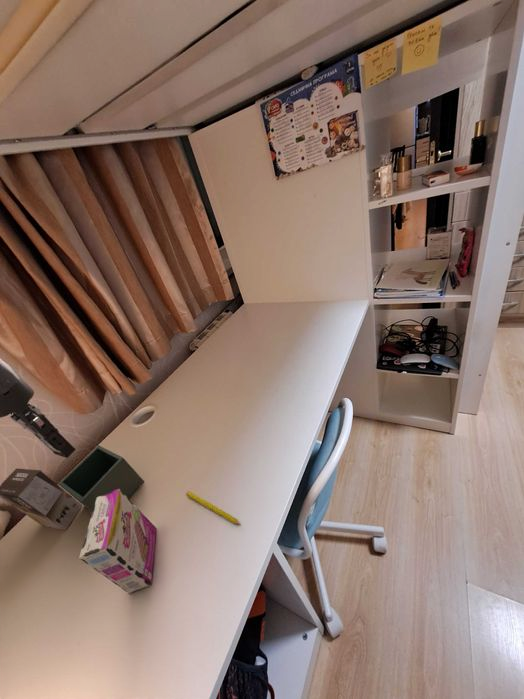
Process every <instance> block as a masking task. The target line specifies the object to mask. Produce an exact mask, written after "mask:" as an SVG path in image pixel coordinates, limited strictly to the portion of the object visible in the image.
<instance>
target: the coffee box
mask: <svg viewBox="0 0 524 699" xmlns="http://www.w3.org/2000/svg"><path fill="white" fill-rule="evenodd" d="M0 498H1V499H2V500H3V501H5V502H7V503H8V505H11V506H12V507H14V508H15V509H17V510H18V511H20V512H21V513H23V514H24V515H25V516H28V517H29V518H30V519H32V520H33V521H35V522H36V523H38V524H39V525H40V526H42V527H47V528H52V529H58V530H63V531H65V530H67V528H69V526H70V524H71V523H72V521H73V520H74V519H75V517H76V515H77V514H78V513H79V511H80V510H81V508H82V506H83V505H82V504H81V503H80V502H79V501H78V500H76V499H75V498H74V497H73V496H72V495H70V494H69V493H68V492H67V491H66V490H64V489H63V488H62V487H61V486H60V485H58V483H57V482H55V481H54V480H53V479H51V478H50V477H49V476H48V475H47V474H46V473H44V472H43V471H42V470H40V469H26V468H17V467H16V468H15V469H14V470H13V471H12V472H11V473H10V474H9V475H8V476H7V477H6V478H5V480H3V481H2V483H0Z"/></svg>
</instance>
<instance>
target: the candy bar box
mask: <svg viewBox="0 0 524 699" xmlns="http://www.w3.org/2000/svg"><path fill="white" fill-rule="evenodd" d="M156 538H157V527H156V526H155V525H154V524H153V523H152V522H151V520H149V519H148V517H146V515H145V514H144V513H143V512H142V511H141V510H140V509H139V508H138V507H137V506H136V504H134V503H133V502H132V501H131V499H128V498H127V497H126V496H125V495H124V493H123V492H122V491H121V490H120V489H118V490H115V491H112V492H110V493H107V494H105V495H102V496H99V497H97V498H96V502H95V505H94V509H93V512H91V515H90V520H89V522H88V525H87V529H86V533H85V536H84V539H83V543H82V546H81V549H80V553H79V556H78V559H79V560H81V561H82V562H83V563H85V565H88V566H89V567H91V568H92V569H93V570H95V571H96V572H98V573H99V574H100V575H102V576H103V577H105V578H106V579H107V580H109V581H110V582H111V583H113V584H114V585H117V587H119V588H120V589H122V591H124V592H126V593H127V594H133V593H134V592H137V591H139V590H143V589H145V588H148V587H151V586H152V584H153V574H154V573H153V572H154V562H155V549H156Z"/></svg>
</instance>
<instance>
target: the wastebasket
mask: <svg viewBox="0 0 524 699" xmlns="http://www.w3.org/2000/svg"><path fill="white" fill-rule="evenodd" d="M144 482H145V480H144V479H143V478H142V477H141V476H140V474H138V473H137V471H136V470H135V469H134V468H133V467H132V466H131V465H130V464H129V463H128V461H127V460H126V459H125V457H123V456H120V455H119V454H117V453H114V452H113V451H111V450H109V449H107V448H105V447H103V446H101V445H98V444H97V446H95V447H94V449H92V451H91V452H89V453H88V454H87V455H86V456H85V457H84V458H83V459H82V460H81V461H80V462H79V463H78V464H77V465H75V466H74V468H72V470H71V471H70V472H69V473H68V474H66V475H65V476H64V477H63V479H61V480H60V481H59V482H57V485H59V486H60V487H61V488H62V489H64V490H65V491H66V492H67V493H68V494H69V495H71V496H72V497H73V498H74V499H76V500H77V501H78V502H79V503H80V504H81V505H82V506H83V507H85V508H86V509H87V510H89V511H90V512H91V513H92V512H93V509H94V505H95V502H96V498H97V497H99V496H102V495H105V494H107V493H110V492H112V491H115V490H118V489H120V490H121V491H122V492H123V493H124V495H125V496H126V497H127V498H128V499H129V500H131V497H133V495H134V494H135V493H136V492H137V491H138V489H139V488H140V487H141V485H142V484H143V483H144Z"/></svg>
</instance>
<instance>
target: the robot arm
mask: <svg viewBox="0 0 524 699" xmlns="http://www.w3.org/2000/svg"><path fill="white" fill-rule="evenodd" d="M34 394H35V390H34V389H33V388H32V387H31V386H30V385H29V384H28V382H26V381H25V380H24V378H22V377H21V376H20V375H19V373H17V371H15V369H14V368H12V366H11V365H9V363H7V362H6V361H4V359H2V358H0V418H4V417H5V418H6V417H7V416H9V415H10V416H9V419H11V420H12V421H13V422H15V423H17V424H18V425H19V426H20V427H22V429H24V430H27V431H28V432H29V433H31V434H32V435H34V434H38V435H39V436H40V437H41V438H42V439H43V440H45V441H47V442H48V443H49V444H50V445H51V446H52V447H53V448H54V449H55V450H57V451H58V450H60V449H61V448H63V447H64V446H65V445H66V441H65V440H64V439H63V438H62V437H61V436H60V435H59V434H58V432H59V433H60V431H59V429H58V428H56V427H55V426H54V425H53V424H52V422H51V421H50V419H48V418H47V417H46V415H45V414H44V413H42V412H41V409H39V407H37V406H36V405H35V404H32V403H31V402H30V400H32V399H33V397H34ZM48 429H50V430H49V431H48V432H46V431H47V430H48ZM45 432H46V433H45ZM44 433H45V434H44Z"/></svg>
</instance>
